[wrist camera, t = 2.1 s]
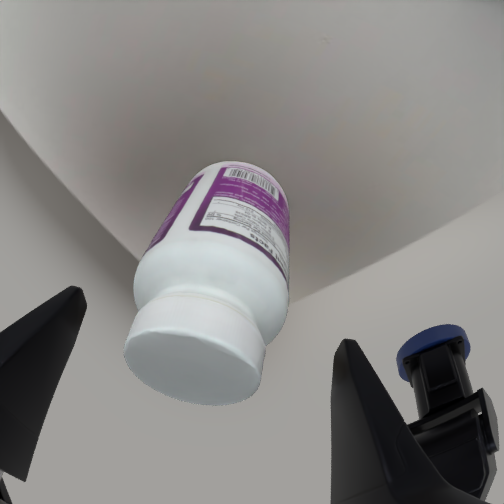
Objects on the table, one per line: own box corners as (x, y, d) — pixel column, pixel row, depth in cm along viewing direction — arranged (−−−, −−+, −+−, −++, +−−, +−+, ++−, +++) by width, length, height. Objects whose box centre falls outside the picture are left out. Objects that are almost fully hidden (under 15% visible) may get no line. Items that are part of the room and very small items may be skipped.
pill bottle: (216, 261, 18) (170, 418, 10) (166, 183, 15) (66, 329, 8) (306, 232, 16) (310, 407, 9) (263, 140, 14) (224, 288, 6)
